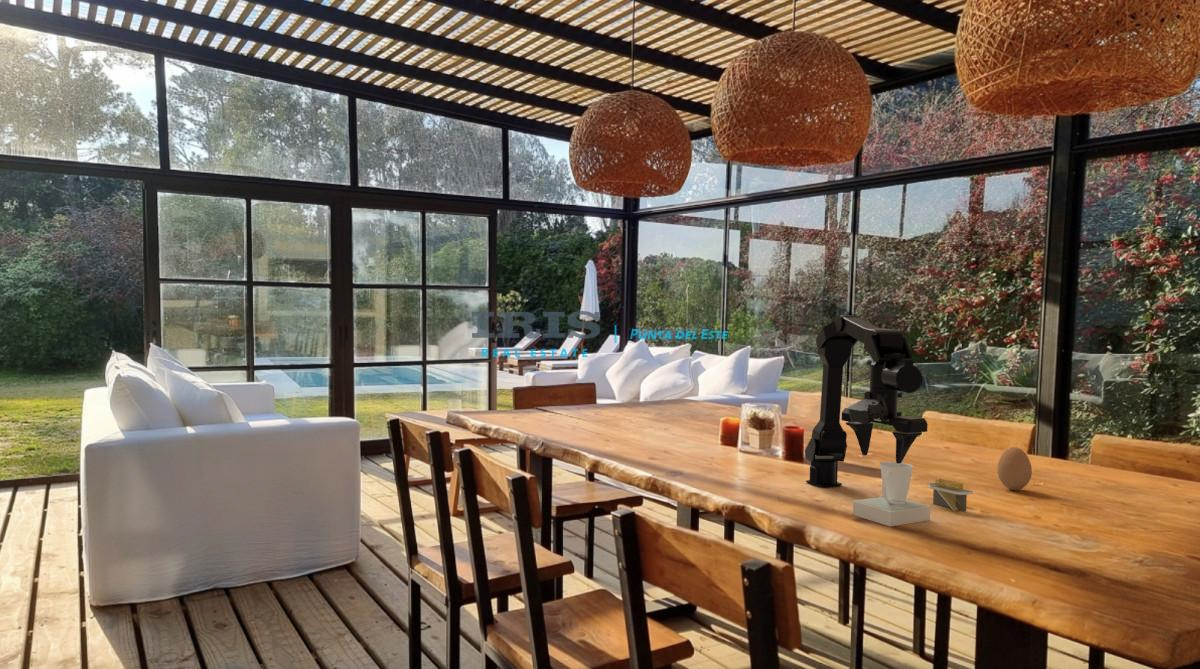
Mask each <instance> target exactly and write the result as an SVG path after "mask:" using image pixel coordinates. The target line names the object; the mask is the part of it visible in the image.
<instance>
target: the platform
mask: <svg viewBox="0 0 1200 669" xmlns="http://www.w3.org/2000/svg"><path fill="white" fill-rule="evenodd" d="M934 481H935V482H928V487H929V489H931V490H933V493H932V494H933V497H932V500H933V501H932V505H936V506H940V507H945V508H948V509H951V510H952V511H953V512H956V511H961V512H966V513H967V503H968V502H967V501H968V500H967V499H968V495H973V493H974V492H973V490H968V489H964V483H962V482H959V481H958V482H957V481H952V480H947V479H944V478H938V479H935V480H934Z"/></svg>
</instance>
